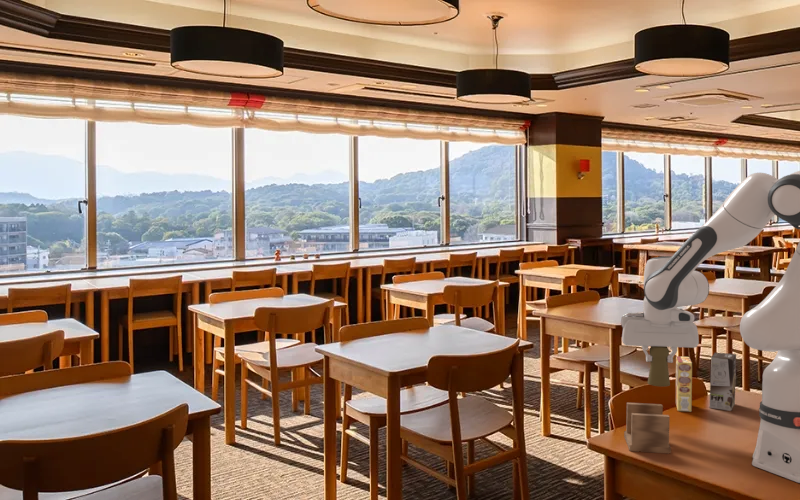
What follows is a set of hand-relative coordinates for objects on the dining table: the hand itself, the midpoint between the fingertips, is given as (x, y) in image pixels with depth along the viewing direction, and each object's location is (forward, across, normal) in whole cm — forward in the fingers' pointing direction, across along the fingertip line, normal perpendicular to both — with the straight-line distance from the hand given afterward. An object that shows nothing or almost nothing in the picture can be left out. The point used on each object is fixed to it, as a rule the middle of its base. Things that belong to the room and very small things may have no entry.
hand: (659, 361), depth 190 cm
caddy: (+19, -5, -16) cm, 25 cm away
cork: (+7, 0, 0) cm, 7 cm away
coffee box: (+19, +23, +25) cm, 39 cm away
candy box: (+19, +10, +21) cm, 30 cm away
